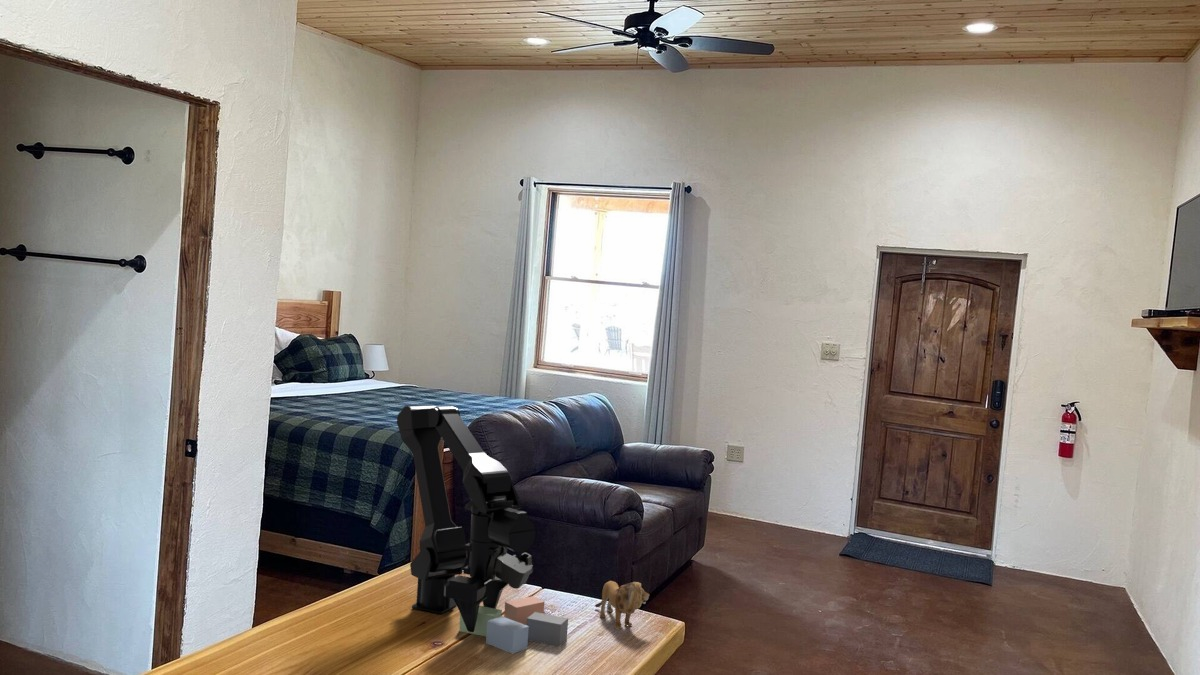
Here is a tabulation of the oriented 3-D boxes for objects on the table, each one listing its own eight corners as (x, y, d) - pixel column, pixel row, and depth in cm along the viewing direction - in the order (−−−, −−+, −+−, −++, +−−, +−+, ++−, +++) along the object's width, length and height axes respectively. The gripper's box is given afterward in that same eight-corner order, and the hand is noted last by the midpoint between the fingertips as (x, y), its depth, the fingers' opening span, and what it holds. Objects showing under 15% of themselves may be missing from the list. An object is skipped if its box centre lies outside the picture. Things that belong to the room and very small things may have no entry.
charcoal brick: (525, 640, 163) (527, 618, 163) (533, 633, 167) (534, 612, 167) (559, 647, 161) (560, 624, 161) (566, 640, 165) (568, 618, 165)
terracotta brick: (515, 629, 169) (516, 607, 168) (503, 623, 171) (505, 601, 171) (543, 622, 173) (544, 601, 173) (531, 617, 176) (532, 596, 175)
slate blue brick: (485, 643, 161) (487, 621, 160) (500, 638, 163) (502, 616, 163) (512, 654, 157) (514, 631, 156) (527, 649, 159) (528, 626, 159)
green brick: (459, 631, 165) (460, 609, 165) (468, 625, 169) (469, 603, 169) (491, 638, 163) (493, 615, 163) (500, 631, 167) (501, 609, 167)
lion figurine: (650, 631, 172) (653, 583, 171) (627, 636, 169) (630, 587, 168) (605, 607, 184) (608, 562, 183) (582, 610, 181) (586, 565, 180)
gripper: (505, 558, 154) (499, 651, 155) (547, 534, 172) (541, 617, 172) (445, 548, 158) (439, 638, 158) (492, 525, 175) (487, 607, 176)
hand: (480, 625), depth 166 cm, fingers open, 7 cm apart
